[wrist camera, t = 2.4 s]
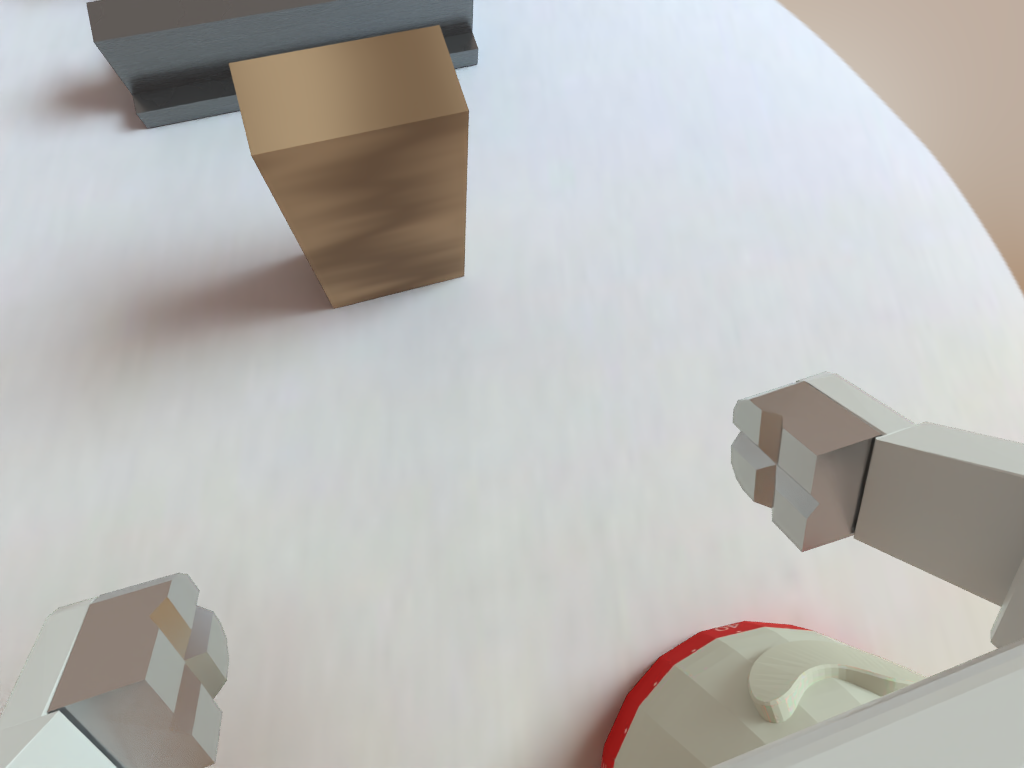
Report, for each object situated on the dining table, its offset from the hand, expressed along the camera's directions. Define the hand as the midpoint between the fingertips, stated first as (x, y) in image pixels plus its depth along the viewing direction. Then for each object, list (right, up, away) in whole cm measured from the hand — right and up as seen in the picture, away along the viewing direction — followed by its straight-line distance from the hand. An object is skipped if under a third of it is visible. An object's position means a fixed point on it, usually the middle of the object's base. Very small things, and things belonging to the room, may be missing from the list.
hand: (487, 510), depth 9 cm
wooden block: (-5, +7, +18) cm, 21 cm away
